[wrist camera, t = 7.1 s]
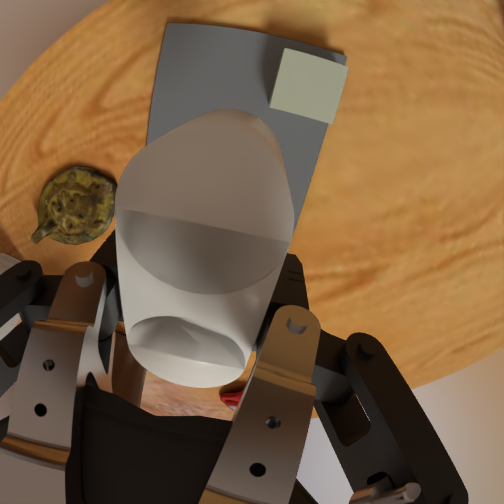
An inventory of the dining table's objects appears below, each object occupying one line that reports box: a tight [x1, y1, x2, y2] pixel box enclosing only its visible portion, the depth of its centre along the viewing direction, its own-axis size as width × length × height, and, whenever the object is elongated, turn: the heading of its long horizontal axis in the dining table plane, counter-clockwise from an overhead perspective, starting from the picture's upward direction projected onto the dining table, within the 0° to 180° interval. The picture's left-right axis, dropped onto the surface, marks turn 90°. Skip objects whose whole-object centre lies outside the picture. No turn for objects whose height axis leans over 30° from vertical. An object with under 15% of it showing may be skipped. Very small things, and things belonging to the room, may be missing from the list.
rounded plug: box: [115, 108, 294, 388], centre depth 10 cm, size 12×4×5 cm, turn 168°
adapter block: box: [269, 48, 349, 125], centre depth 20 cm, size 5×5×4 cm
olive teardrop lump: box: [31, 166, 117, 245], centre depth 28 cm, size 9×5×15 cm
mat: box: [146, 23, 347, 236], centre depth 25 cm, size 22×16×1 cm
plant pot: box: [111, 332, 147, 408], centre depth 37 cm, size 16×16×16 cm
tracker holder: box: [220, 390, 244, 411], centre depth 49 cm, size 12×4×10 cm
